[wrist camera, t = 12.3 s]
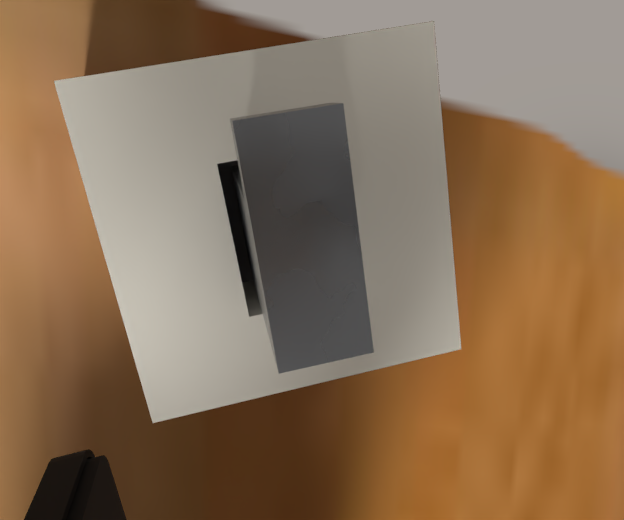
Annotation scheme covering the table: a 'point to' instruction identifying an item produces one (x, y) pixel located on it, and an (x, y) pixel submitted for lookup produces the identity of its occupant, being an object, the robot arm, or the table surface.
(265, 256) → the gray metal ingot
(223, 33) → the table surface
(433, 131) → the slotted block
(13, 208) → the table surface
